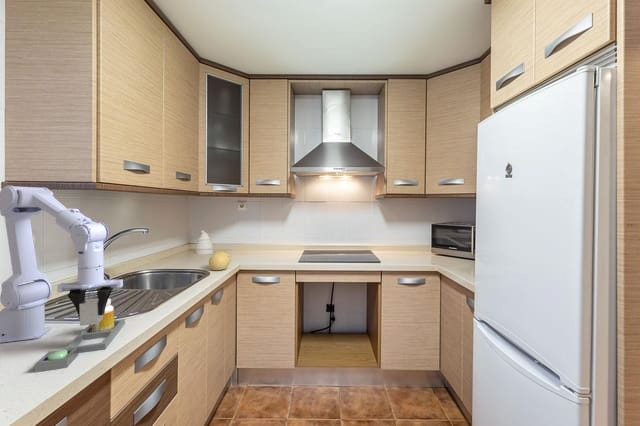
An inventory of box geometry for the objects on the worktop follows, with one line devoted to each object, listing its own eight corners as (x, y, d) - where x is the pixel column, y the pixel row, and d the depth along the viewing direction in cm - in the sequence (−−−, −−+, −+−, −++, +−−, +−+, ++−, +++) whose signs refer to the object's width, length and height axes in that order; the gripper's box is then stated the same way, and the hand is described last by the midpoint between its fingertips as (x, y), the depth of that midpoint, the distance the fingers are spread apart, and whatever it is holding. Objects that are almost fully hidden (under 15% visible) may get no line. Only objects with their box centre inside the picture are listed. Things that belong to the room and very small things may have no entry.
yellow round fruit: (233, 268, 181) (233, 250, 181) (220, 272, 170) (220, 253, 169) (218, 266, 185) (218, 249, 184) (204, 270, 174) (204, 252, 173)
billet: (79, 325, 79) (79, 303, 79) (86, 320, 83) (85, 299, 83) (97, 324, 80) (97, 302, 80) (102, 318, 84) (102, 297, 84)
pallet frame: (64, 354, 76) (64, 349, 76) (91, 327, 93) (91, 322, 93) (105, 349, 79) (105, 343, 79) (124, 323, 96) (124, 319, 96)
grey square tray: (35, 372, 68) (35, 363, 68) (49, 359, 74) (48, 351, 74) (67, 367, 70) (66, 359, 70) (78, 355, 76) (78, 347, 76)
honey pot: (192, 253, 235) (192, 231, 234) (203, 251, 247) (203, 229, 246) (205, 254, 231) (205, 231, 230) (216, 252, 243) (216, 230, 242)
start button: (44, 366, 70) (44, 357, 70) (52, 358, 73) (52, 350, 73) (63, 363, 71) (63, 355, 71) (70, 356, 74) (70, 348, 74)
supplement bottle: (118, 327, 93) (117, 297, 93) (106, 335, 87) (105, 303, 87) (100, 328, 93) (100, 297, 92) (87, 335, 87) (87, 303, 87)
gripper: (50, 271, 75) (51, 324, 76) (117, 267, 80) (117, 317, 80) (64, 266, 82) (65, 314, 82) (124, 262, 87) (125, 308, 87)
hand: (91, 315), depth 82 cm, fingers closed on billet, 4 cm apart
